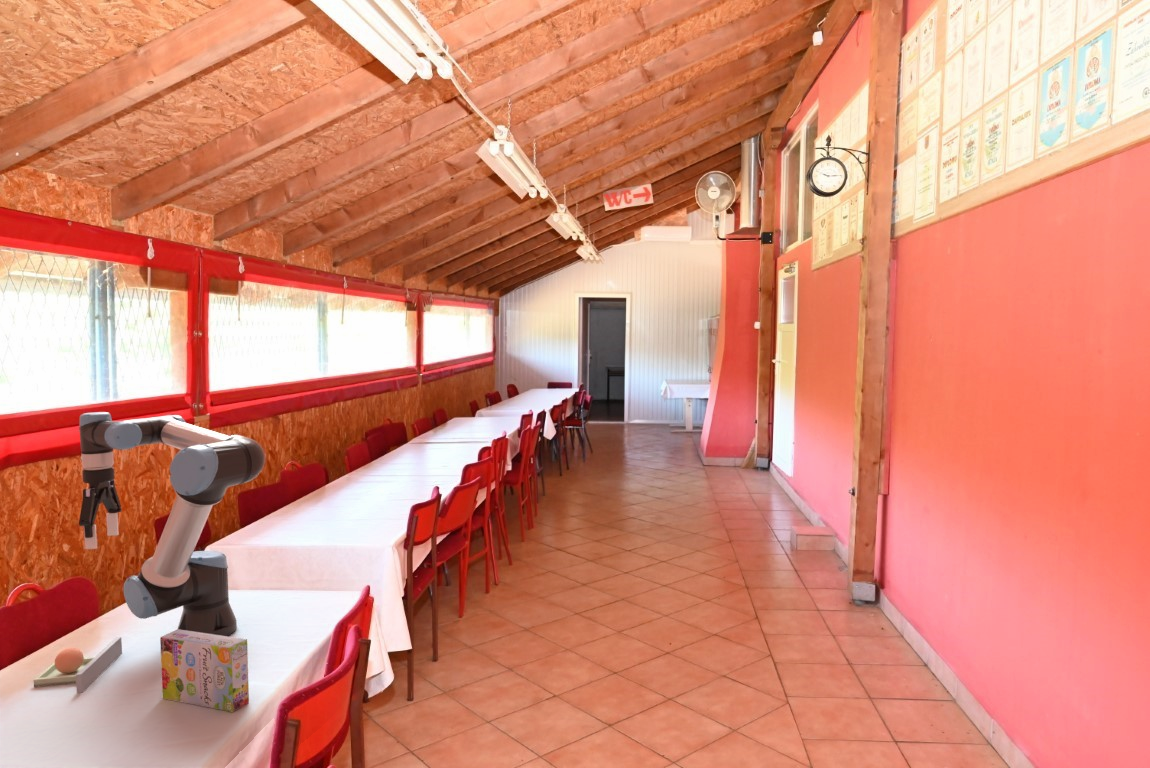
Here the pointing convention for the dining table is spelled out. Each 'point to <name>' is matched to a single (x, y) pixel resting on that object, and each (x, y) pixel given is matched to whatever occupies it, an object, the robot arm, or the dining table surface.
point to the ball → (69, 660)
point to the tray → (58, 675)
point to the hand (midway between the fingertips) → (102, 541)
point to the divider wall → (98, 665)
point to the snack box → (205, 669)
